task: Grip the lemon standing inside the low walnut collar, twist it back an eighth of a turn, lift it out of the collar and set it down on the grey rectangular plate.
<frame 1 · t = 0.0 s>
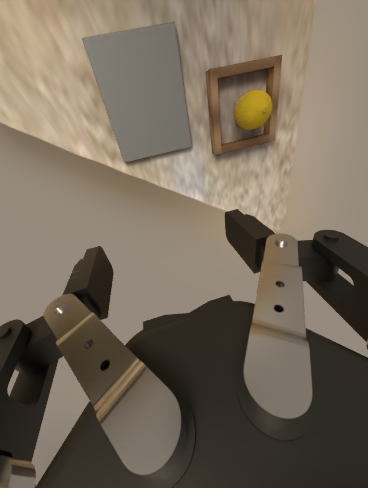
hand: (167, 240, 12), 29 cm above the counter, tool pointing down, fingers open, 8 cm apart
walnut collar: (240, 109, 35), on the counter
grey rectangular plate: (145, 102, 31), on the counter
lemon: (240, 112, 35), resting in walnut collar
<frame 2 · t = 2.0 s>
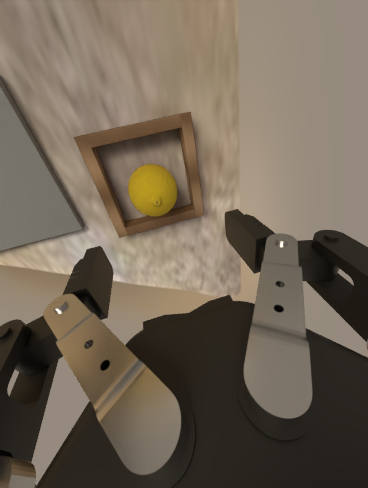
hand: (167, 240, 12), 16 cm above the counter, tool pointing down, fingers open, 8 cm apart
walnut collar: (149, 179, 25), on the counter
lemon: (150, 180, 25), resting in walnut collar
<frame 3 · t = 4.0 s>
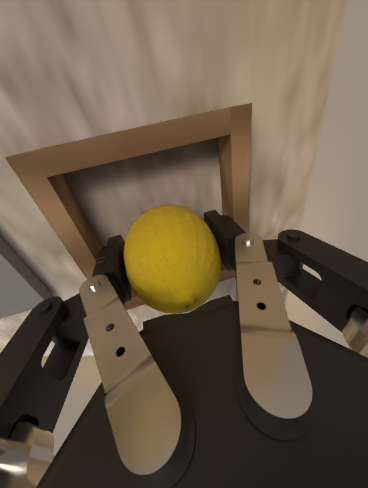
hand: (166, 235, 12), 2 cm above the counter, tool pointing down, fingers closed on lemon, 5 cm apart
walnut collar: (161, 221, 14), on the counter
lemon: (162, 223, 15), resting in walnut collar, touching gripper
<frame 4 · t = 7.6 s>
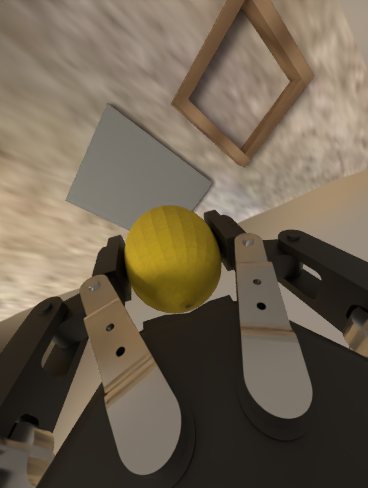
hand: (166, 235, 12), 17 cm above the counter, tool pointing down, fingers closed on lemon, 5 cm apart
walnut collar: (238, 91, 23), on the counter
grey rectangular plate: (142, 189, 27), on the counter
lemon: (163, 223, 15), point 15 cm above the counter, touching gripper
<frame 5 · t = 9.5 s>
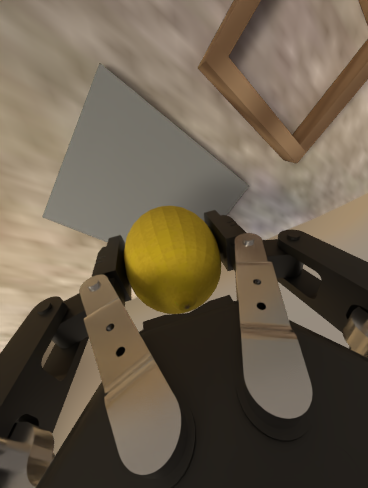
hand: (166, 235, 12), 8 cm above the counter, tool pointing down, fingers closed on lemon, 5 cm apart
walnut collar: (297, 48, 16), on the counter
grey rectangular plate: (153, 197, 19), on the counter
lemon: (162, 223, 15), point 6 cm above the counter, touching gripper
when the fingers open (4 cm above the counter, at t = 11.2 s): lemon stays where it is, resting on grey rectangular plate.
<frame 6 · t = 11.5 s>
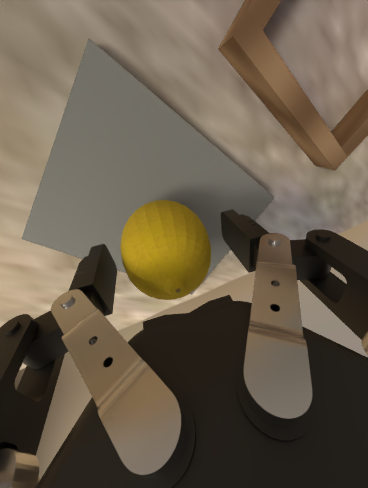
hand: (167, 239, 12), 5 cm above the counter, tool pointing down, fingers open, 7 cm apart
walnut collar: (346, 24, 12), on the counter
grey rectangular plate: (159, 211, 16), on the counter
lemon: (158, 218, 15), point 1 cm above the counter, touching grey rectangular plate
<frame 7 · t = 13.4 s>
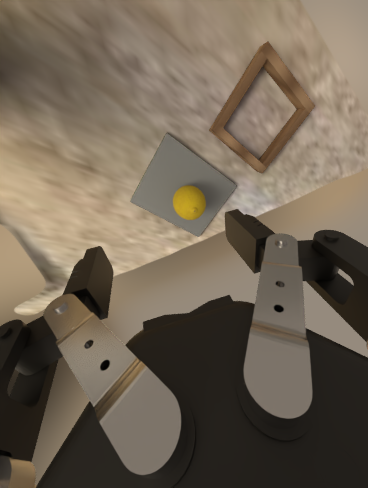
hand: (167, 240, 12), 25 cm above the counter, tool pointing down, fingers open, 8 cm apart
walnut collar: (258, 118, 32), on the counter
grey rectangular plate: (184, 192, 36), on the counter
lemon: (184, 195, 36), point 1 cm above the counter, touching grey rectangular plate
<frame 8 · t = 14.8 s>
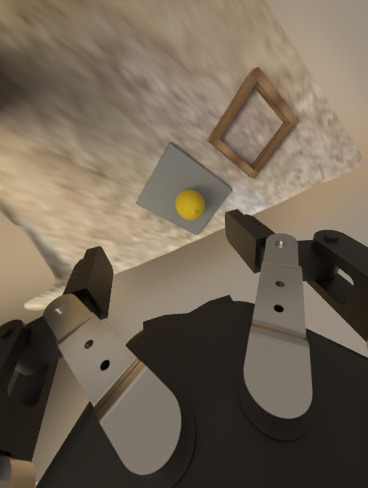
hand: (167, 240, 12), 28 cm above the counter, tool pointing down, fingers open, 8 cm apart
walnut collar: (250, 130, 36), on the counter
grey rectangular plate: (184, 194, 40), on the counter
lemon: (185, 197, 39), point 1 cm above the counter, touching grey rectangular plate
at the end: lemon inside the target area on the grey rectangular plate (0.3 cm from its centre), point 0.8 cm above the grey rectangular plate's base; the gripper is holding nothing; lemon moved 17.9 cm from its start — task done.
